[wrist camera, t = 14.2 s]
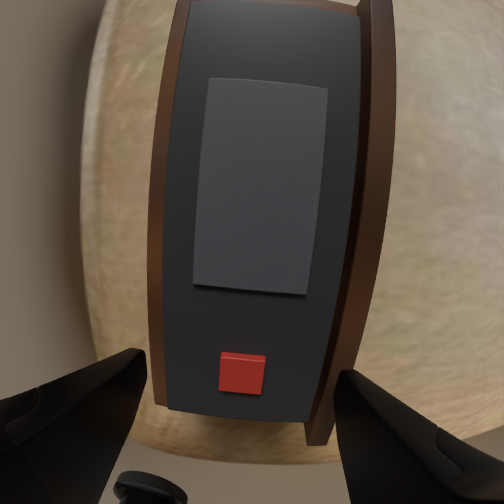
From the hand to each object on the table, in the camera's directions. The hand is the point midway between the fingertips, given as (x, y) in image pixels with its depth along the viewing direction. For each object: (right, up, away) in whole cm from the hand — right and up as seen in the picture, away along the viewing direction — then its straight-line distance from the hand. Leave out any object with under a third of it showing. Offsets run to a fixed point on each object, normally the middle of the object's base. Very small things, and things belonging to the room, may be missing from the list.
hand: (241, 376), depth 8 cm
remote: (0, +4, +1) cm, 5 cm away
